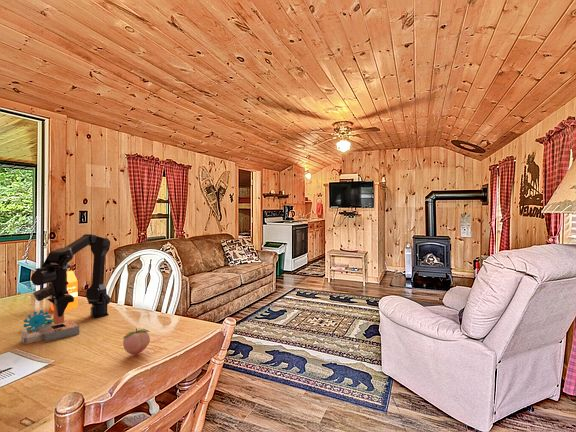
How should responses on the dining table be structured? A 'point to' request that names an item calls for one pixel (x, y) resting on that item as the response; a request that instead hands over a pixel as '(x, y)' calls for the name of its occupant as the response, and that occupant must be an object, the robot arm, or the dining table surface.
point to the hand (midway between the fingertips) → (58, 315)
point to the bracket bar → (31, 337)
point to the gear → (37, 320)
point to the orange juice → (71, 290)
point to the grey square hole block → (58, 330)
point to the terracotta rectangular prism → (55, 317)
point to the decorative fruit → (136, 341)
